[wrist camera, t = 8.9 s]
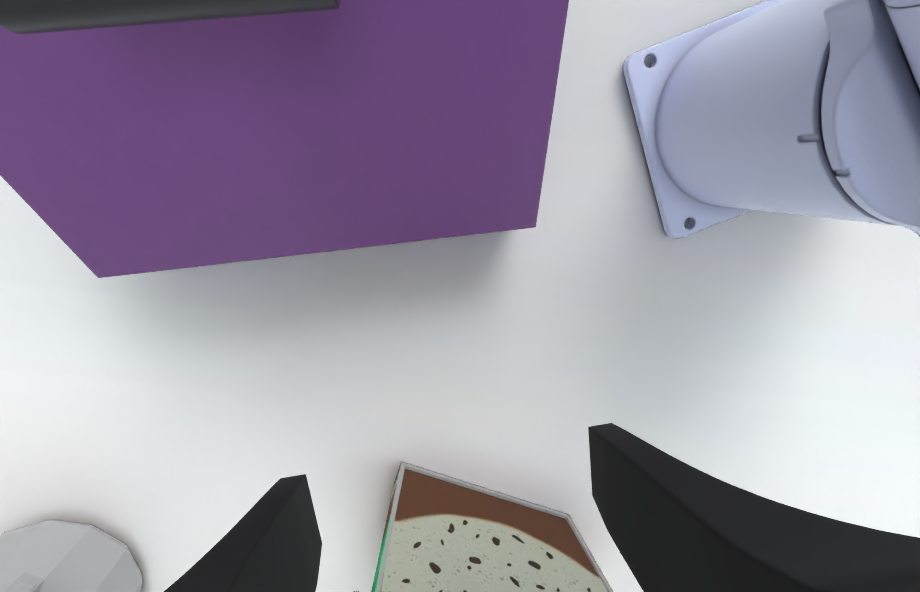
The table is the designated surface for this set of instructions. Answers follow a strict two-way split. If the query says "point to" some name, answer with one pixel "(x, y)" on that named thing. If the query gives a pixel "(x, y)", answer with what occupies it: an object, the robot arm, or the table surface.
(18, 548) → the water bottle
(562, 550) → the food container
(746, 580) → the robot arm
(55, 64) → the lid
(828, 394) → the table surface
